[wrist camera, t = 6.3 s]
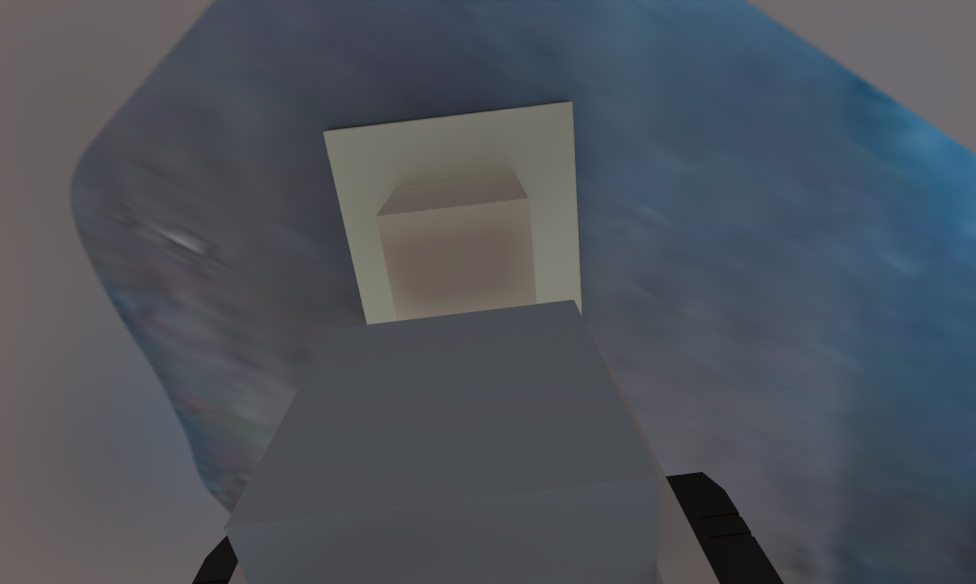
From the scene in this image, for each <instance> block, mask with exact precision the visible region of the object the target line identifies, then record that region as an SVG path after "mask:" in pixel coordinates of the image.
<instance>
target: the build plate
mask: <svg viewBox="0 0 976 584" xmlns="http://www.w3.org/2000/svg"><path fill="white" fill-rule="evenodd" d="M323 134H324V138H325V143H326V147H327V151H328V156H329V160H330V165H331V169H332V173H333V178H334V182H335V186H336V191H337V195H338V200H339V204H340V208H341V213H342V217H343V221H344V226H345V230H346V235H347V239H348V243H349V248H350V252H351V256H352V261H353V265H354V270H355V274H356V278H357V283H358V287H359V291H360V296H361V300H362V305H363V309H364V313H365V318H366V322H367V325H368V324H376V323H385V322H393V321H397V318H396V313H395V308H394V303H393V298H392V293H391V288H390V283H389V278H388V273H387V268H386V263H385V258H384V253H383V248H382V244H381V239H380V234H379V229H378V224H377V219H376V216H377V214H378V213H379V211H380V210H381V208H382V207H383V205H384V204H385V203H386V201H387V200H388V198H389V197H390V195H391V194H392V192H393V191H394V190H395V188H396V187H399V186H407V185H415V184H424V183H432V182H440V181H449V180H457V179H466V178H474V177H482V176H491V175H499V174H508V173H516V175H517V177H518V179H519V181H520V183H521V185H522V187H523V189H524V191H525V193H526V195H527V197H528V200H529V212H530V225H531V237H532V249H533V261H534V274H535V286H536V298H537V304H541V303H549V302H557V301H566V300H574V301H575V303H576V305H577V307H578V309H579V311H580V313H581V316H582V306H581V284H580V261H579V238H578V216H577V193H576V171H575V148H574V125H573V103H572V101H565V102H557V103H549V104H540V105H532V106H524V107H516V108H507V109H499V110H491V111H482V112H474V113H466V114H458V115H449V116H441V117H433V118H425V119H416V120H408V121H400V122H391V123H383V124H375V125H367V126H358V127H350V128H342V129H333V130H327V131H324V132H323Z"/></svg>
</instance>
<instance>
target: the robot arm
mask: <svg viewBox="0 0 976 584" xmlns="http://www.w3.org/2000/svg"><path fill="white" fill-rule="evenodd" d="M604 363H605V365H606V367H607V370H608V372H609V374H610V376H611V378H612V380H613V382H614V384H615V386H616V388H617V390H618V392H619V394H620V397H621V399H622V401H623V403H624V405H625V407H626V409H627V411H628V413H629V415H630V417H631V419H632V421H633V424H634V426H635V428H636V430H637V432H638V434H639V436H640V438H641V440H642V442H643V444H644V446H645V448H646V451H647V453H648V455H649V457H650V459H651V461H652V463H653V465H654V467H655V469H656V471H657V473H658V475H659V508H658V555H657V564H656V584H784V583H783V582H782V580H781V579H780V577H779V575H778V574H777V572H776V571H775V569H774V568H773V566H772V564H771V563H770V561H769V560H768V558H767V556H766V555H765V553H764V552H763V550H762V549H761V547H760V545H759V544H758V542H757V541H756V539H755V537H752V535H751V531H750V530H749V528H748V526H747V525H746V523H745V522H744V520H743V519H742V517H740V516H739V512H738V511H737V509H736V507H735V506H734V504H733V503H732V501H731V500H730V498H729V496H728V495H727V493H726V492H725V490H724V489H723V488H721V487H720V486H719V485H718V484H716V483H715V482H714V481H713V480H711V479H710V478H709V477H708V476H706V475H705V474H704V473H703V472H698V473H690V474H683V475H675V476H667V477H666V476H665V474H664V473H663V471H662V469H661V467H660V465H659V463H658V461H657V459H656V457H655V455H654V453H653V451H652V449H651V447H650V445H649V443H648V441H647V439H646V437H645V435H644V433H643V431H642V429H641V427H640V425H639V423H638V421H637V419H636V417H635V415H634V413H633V411H632V409H631V407H630V405H629V403H628V401H627V399H626V397H625V395H624V393H623V391H622V389H621V387H620V386H619V384H618V382H617V380H616V378H615V376H614V374H613V372H612V370H611V368H610V366H609V364H608V362H604ZM192 584H248V582H247V580H246V577H245V575H244V573H243V570H242V568H241V566H240V564H239V561H238V559H237V557H236V554H235V552H234V550H233V548H232V545H231V543H230V541H229V538H228V536H226V537H225V538H224V539H223V540H222V541H221V542H220V543H219V544H218V545H217V546H216V548H215V549H214V550H213V551H212V552H211V553H210V554H209V555H208V556H207V557H206V559H205V560H204V562H203V564H202V566H201V568H200V570H199V572H198V573H197V575H196V577H195V579H194V581H193V583H192Z"/></svg>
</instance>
